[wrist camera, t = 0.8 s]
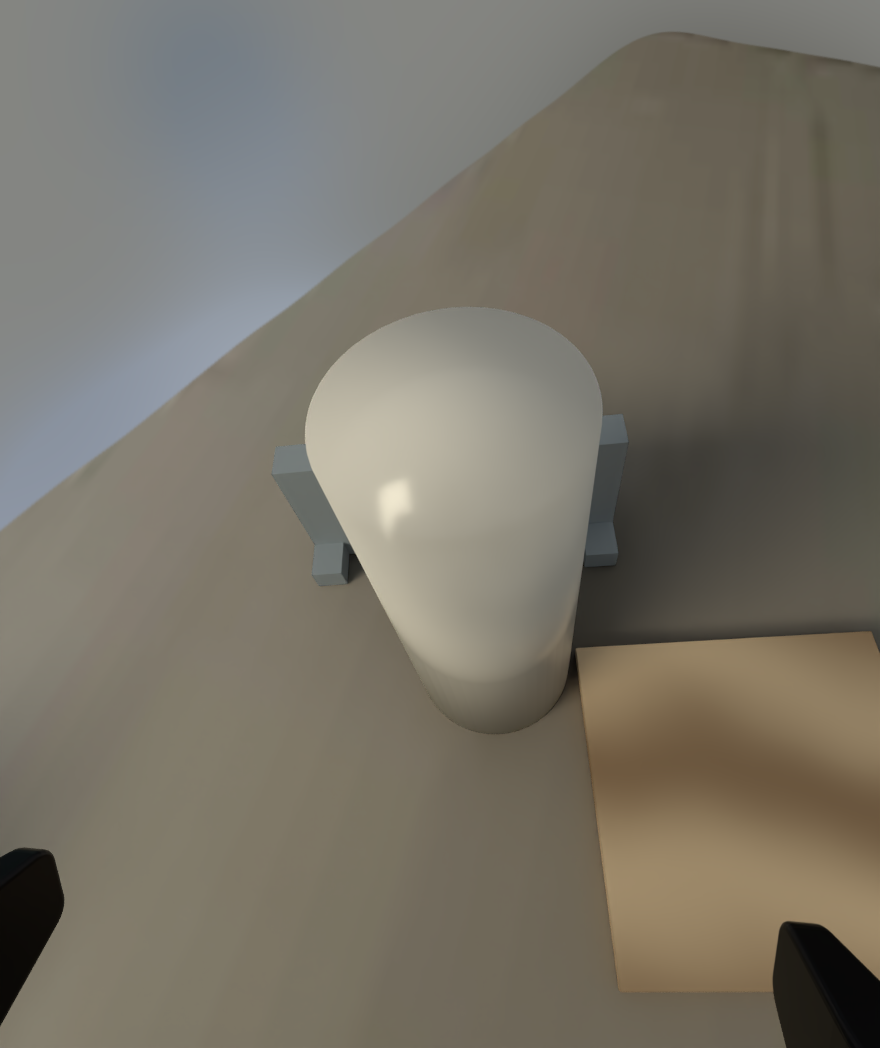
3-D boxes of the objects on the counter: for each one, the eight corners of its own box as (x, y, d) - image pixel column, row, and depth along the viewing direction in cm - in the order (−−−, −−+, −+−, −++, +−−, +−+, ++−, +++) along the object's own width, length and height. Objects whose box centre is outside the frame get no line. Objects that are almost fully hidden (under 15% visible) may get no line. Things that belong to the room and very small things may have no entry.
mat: (996, 988, 17) (1011, 991, 17) (618, 989, 18) (621, 992, 18) (863, 637, 22) (870, 631, 22) (575, 653, 23) (576, 648, 23)
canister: (577, 730, 22) (626, 525, 10) (420, 737, 22) (289, 550, 11) (559, 581, 25) (579, 286, 13) (420, 591, 25) (318, 316, 14)
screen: (615, 565, 25) (636, 477, 20) (318, 586, 26) (266, 508, 21) (600, 481, 27) (616, 382, 22) (326, 504, 28) (280, 416, 23)
